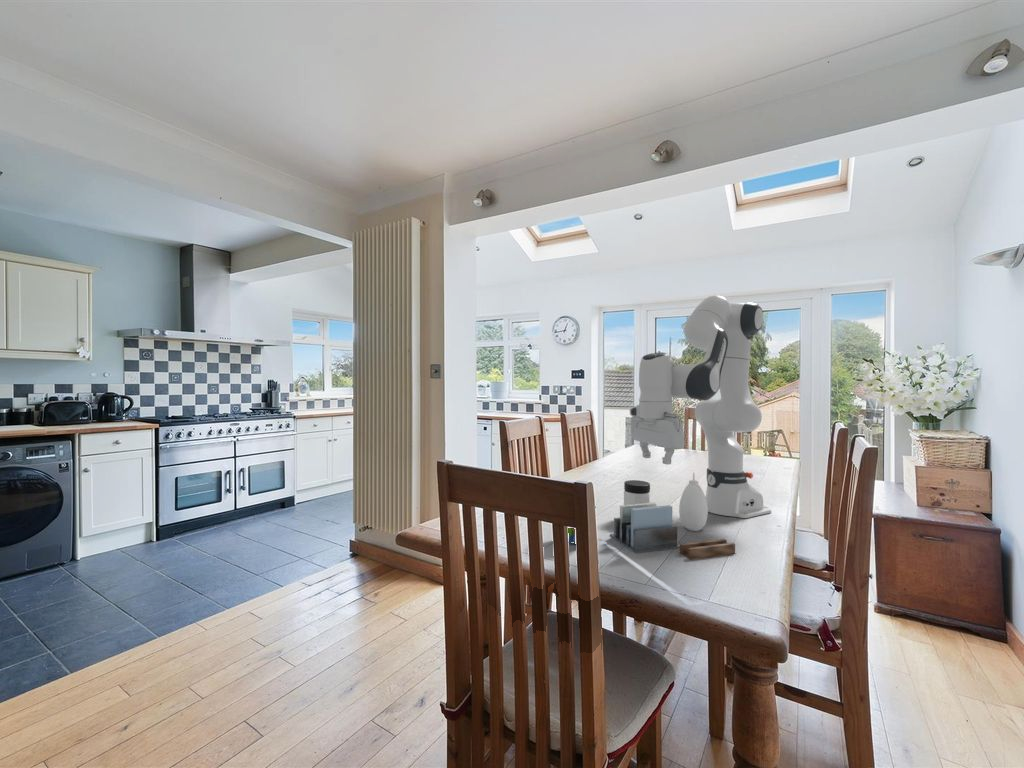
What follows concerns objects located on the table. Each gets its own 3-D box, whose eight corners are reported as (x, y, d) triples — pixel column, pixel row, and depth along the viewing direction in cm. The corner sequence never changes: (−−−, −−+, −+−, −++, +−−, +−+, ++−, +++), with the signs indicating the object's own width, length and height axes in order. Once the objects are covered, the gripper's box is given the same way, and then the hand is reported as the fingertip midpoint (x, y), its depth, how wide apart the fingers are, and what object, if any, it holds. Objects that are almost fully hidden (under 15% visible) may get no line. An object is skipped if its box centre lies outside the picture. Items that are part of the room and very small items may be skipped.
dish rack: (651, 533, 138) (652, 499, 138) (682, 550, 124) (682, 513, 124) (609, 538, 134) (610, 503, 133) (636, 556, 120) (636, 517, 120)
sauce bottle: (712, 533, 138) (713, 473, 138) (695, 537, 134) (696, 476, 134) (690, 525, 145) (691, 468, 145) (673, 529, 141) (674, 471, 141)
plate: (668, 541, 128) (669, 505, 128) (672, 542, 127) (672, 506, 127) (630, 545, 125) (631, 508, 124) (633, 547, 123) (633, 510, 123)
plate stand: (722, 549, 125) (722, 538, 125) (736, 556, 120) (736, 544, 120) (678, 555, 121) (678, 543, 121) (691, 562, 116) (691, 550, 116)
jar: (655, 520, 150) (656, 483, 150) (640, 525, 145) (641, 487, 145) (632, 513, 157) (633, 478, 157) (617, 518, 152) (618, 482, 152)
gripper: (690, 413, 119) (690, 467, 120) (644, 408, 139) (645, 453, 139) (669, 415, 117) (670, 469, 118) (626, 409, 137) (627, 455, 137)
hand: (656, 460), depth 129 cm, fingers open, 8 cm apart
